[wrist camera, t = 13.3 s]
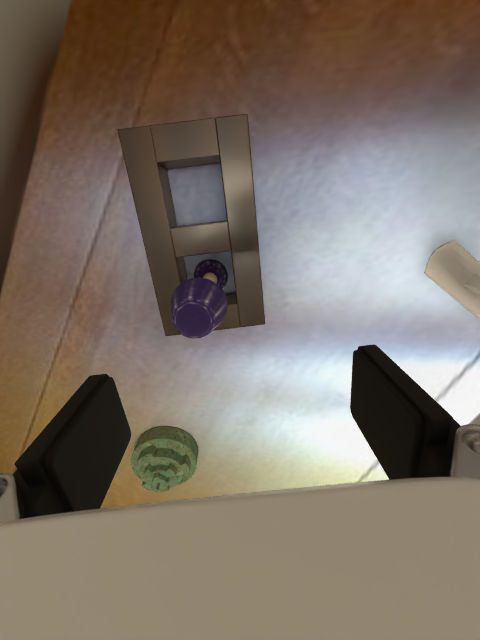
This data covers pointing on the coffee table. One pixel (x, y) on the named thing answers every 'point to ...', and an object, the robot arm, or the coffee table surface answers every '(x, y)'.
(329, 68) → the coffee table surface
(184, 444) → the decorative artifact
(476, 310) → the heart sculpture
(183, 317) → the toy lamp
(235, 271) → the frame
